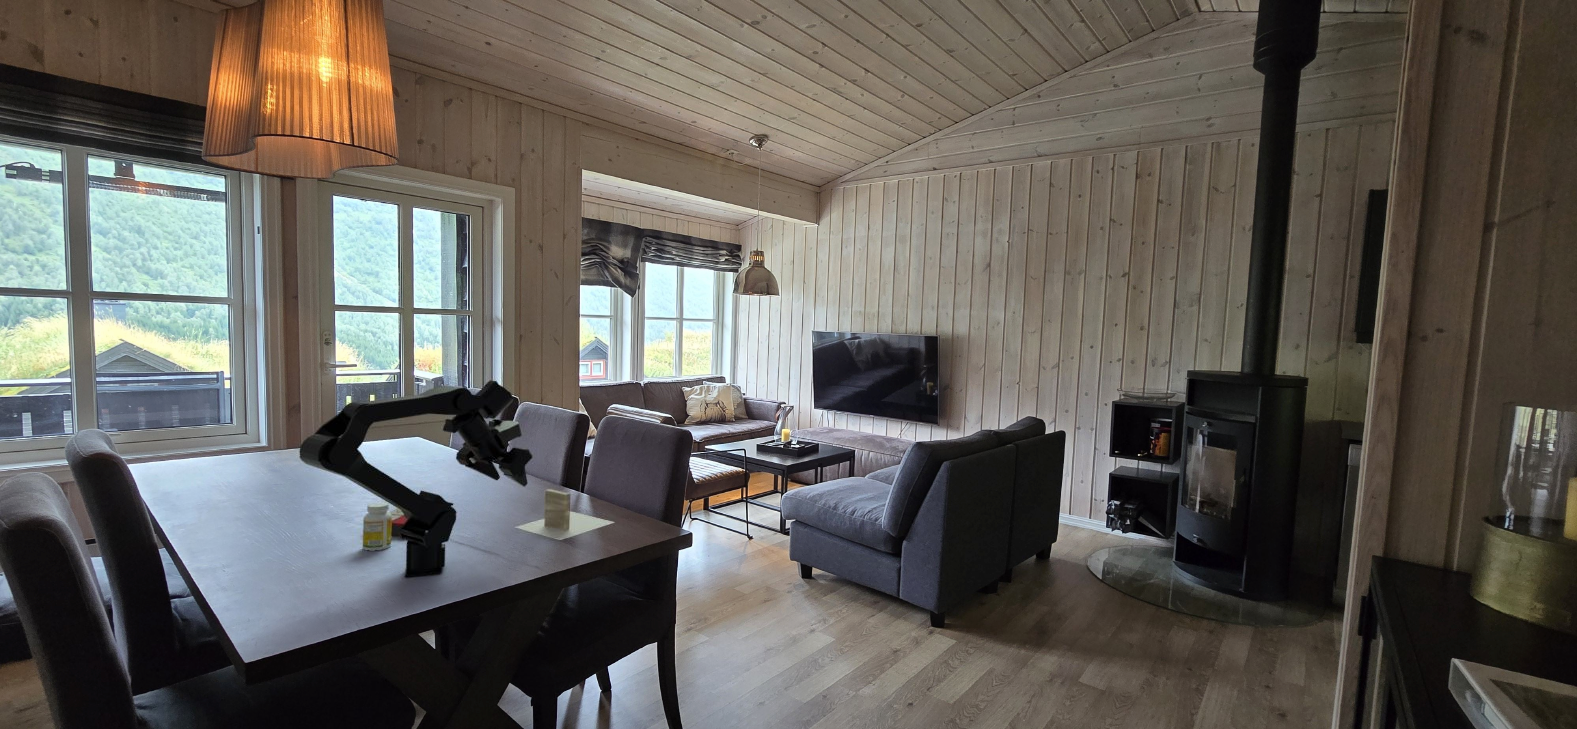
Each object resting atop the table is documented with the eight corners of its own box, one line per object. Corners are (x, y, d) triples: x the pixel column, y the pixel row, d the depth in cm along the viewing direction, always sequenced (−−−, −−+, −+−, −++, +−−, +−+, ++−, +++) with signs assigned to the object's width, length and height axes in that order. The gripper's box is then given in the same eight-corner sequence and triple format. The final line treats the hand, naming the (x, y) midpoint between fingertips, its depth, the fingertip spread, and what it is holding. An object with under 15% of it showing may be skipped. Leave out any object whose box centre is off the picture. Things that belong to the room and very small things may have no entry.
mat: (560, 542, 155) (560, 540, 155) (514, 529, 163) (514, 527, 163) (614, 524, 171) (614, 522, 171) (570, 513, 179) (570, 511, 178)
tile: (564, 530, 162) (565, 494, 161) (544, 525, 165) (545, 490, 165) (569, 529, 163) (570, 493, 163) (549, 524, 167) (550, 488, 166)
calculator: (365, 520, 154) (409, 500, 169) (366, 538, 154) (409, 517, 169) (409, 524, 153) (449, 504, 168) (410, 542, 153) (450, 520, 168)
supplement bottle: (372, 553, 143) (372, 509, 142) (357, 548, 145) (357, 505, 144) (396, 546, 147) (397, 503, 147) (381, 541, 150) (382, 500, 149)
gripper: (531, 412, 144) (563, 462, 153) (475, 404, 153) (508, 451, 162) (495, 449, 137) (531, 498, 146) (438, 438, 145) (475, 485, 154)
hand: (511, 481), depth 152 cm, fingers open, 9 cm apart
